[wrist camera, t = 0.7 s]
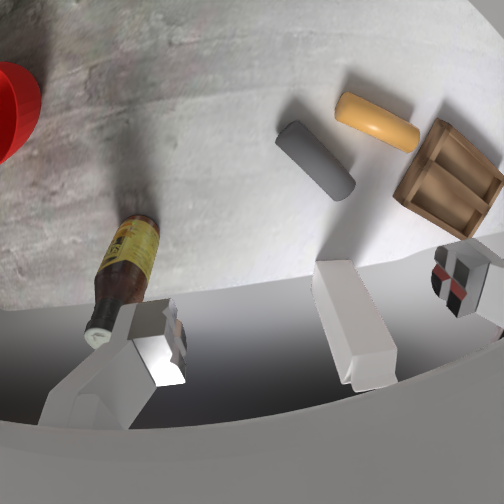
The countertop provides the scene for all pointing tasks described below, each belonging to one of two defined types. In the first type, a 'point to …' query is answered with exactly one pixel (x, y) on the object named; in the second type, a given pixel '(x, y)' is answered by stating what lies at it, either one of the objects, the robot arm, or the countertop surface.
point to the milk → (353, 326)
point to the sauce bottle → (122, 275)
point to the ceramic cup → (17, 107)
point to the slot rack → (450, 182)
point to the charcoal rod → (316, 160)
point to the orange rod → (376, 122)
